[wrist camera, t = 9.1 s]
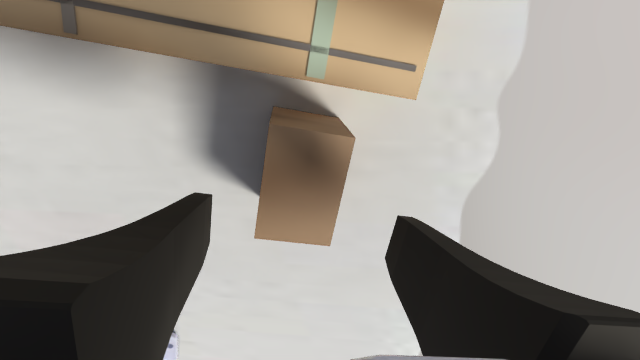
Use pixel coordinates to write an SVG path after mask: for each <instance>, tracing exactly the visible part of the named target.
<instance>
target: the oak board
mask: <svg viewBox="0 0 640 360" xmlns="http://www.w3.org/2000/svg"><path fill="white" fill-rule="evenodd" d="M443 3H444V0H0V26H6V27H11V28H17V29H23V30H28V31H34V32H39V33H45V34H50V35H56V36H62V37H67V38H73V39H78V40H84V41H89V42H95V43H101V44H106V45H112V46H117V47H123V48H128V49H134V50H140V51H145V52H151V53H156V54H162V55H167V56H173V57H179V58H184V59H190V60H195V61H201V62H206V63H212V64H218V65H223V66H229V67H234V68H240V69H245V70H251V71H257V72H262V73H268V74H273V75H279V76H284V77H290V78H296V79H301V80H307V81H312V82H318V83H323V84H329V85H335V86H340V87H346V88H351V89H357V90H363V91H368V92H374V93H379V94H385V95H390V96H396V97H402V98H407V99H413V100H416V98H417V94H418V91H419V87H420V84H421V80H422V77H423V73H424V70H425V66H426V63H427V59H428V56H429V52H430V49H431V45H432V42H433V38H434V34H435V31H436V27H437V24H438V20H439V17H440V13H441V10H442V6H443Z"/></svg>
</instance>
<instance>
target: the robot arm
mask: <svg viewBox="0 0 640 360" xmlns="http://www.w3.org/2000/svg"><path fill="white" fill-rule="evenodd" d="M211 210H212V194H203V193H193V194H190V195H188V196H186V197H184V198H183V199H181V200H179V201H177V202H175V203H173V204H171V205H169V206H167V207H165V208H163V209H161V210H159V211H157V212H155V213H153V214H151V215H148V216H146V217H144V218H142V219H140V220H137V221H135V222H133V223H130V224H128V225H125V226H122V227H120V228H117V229H114V230H111V231H108V232H105V233H102V234H99V235H95V236H91V237H88V238H84V239H80V240H77V241H73V242H69V243H66V244H61V245H57V246H52V247H48V248H43V249H38V250H33V251H27V252H22V253H16V254H10V255H4V256H0V360H178V336H177V334H175V333H172V332H173V329H174V327H175V325H176V322H177V320H178V317H179V315H180V313H181V311H182V309H183V307H184V304H185V302H186V300H187V298H188V296H189V294H190V292H191V290H192V287H193V285H194V283H195V281H196V279H197V277H198V274H199V272H200V270H201V268H202V266H203V263H204V260H205V256H206V253H207V250H208V246H209V243H210V228H211ZM385 260H386V264H387V268H388V271H389V275H390V278H391V281H392V283H393V286H394V288H395V290H396V292H397V295H398V297H399V299H400V301H401V303H402V306H403V308H404V310H405V312H406V314H407V317H408V319H409V321H410V323H411V325H412V327H413V330H414V332H415V335H416V337H417V340H418V342H419V345H420V348H421V351H422V354H423V356H402V355H376V356H369V357H363V358H357V359H351V360H640V313H638V312H635V311H633V310H629V309H625V308H621V307H618V306H614V305H610V304H606V303H603V302H599V301H595V300H592V299H588V298H585V297H581V296H579V295H575V294H572V293H569V292H566V291H563V290H560V289H557V288H554V287H552V286H549V285H546V284H543V283H541V282H538V281H535V280H533V279H530V278H528V277H525V276H522V275H520V274H518V273H516V272H513V271H511V270H509V269H507V268H504V267H502V266H500V265H498V264H496V263H494V262H492V261H490V260H488V259H486V258H484V257H482V256H480V255H478V254H476V253H475V252H473V251H471V250H469V249H467V248H466V247H463V246H462V245H460V244H459V243H457V242H455V241H454V240H452V239H450V238H449V237H447V236H445V235H444V234H442V233H440V232H439V231H437V230H435V229H434V228H432V227H430V226H429V225H427V224H425V223H423V222H421V221H420V220H418V219H415V218H413V217H406V216H397V220H396V223H395V226H394V230H393V233H392V236H391V240H390V243H389V246H388V249H387V253H386V256H385Z"/></svg>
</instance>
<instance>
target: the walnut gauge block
mask: <svg viewBox="0 0 640 360" xmlns="http://www.w3.org/2000/svg"><path fill="white" fill-rule="evenodd" d="M354 142H355V137H354V136H353V134H352V133H351V132H350V131H349V130H348V128H347V127H346V126H345V125H344V124H343V122H342V121H341V120H340V119H339V118H337V117H331V116H325V115H320V114H314V113H308V112H303V111H297V110H291V109H285V108H280V107H274V106H273V111H272V115H271V119H270V123H269V129H268V137H267V145H266V152H265V160H264V168H263V175H262V183H261V191H260V198H259V206H258V214H257V221H256V229H255V236H254V238H256V239H266V240H276V241H285V242H295V243H305V244H314V245H324V246H330V244H331V239H332V235H333V231H334V227H335V222H336V218H337V214H338V210H339V206H340V201H341V197H342V193H343V189H344V184H345V180H346V176H347V172H348V168H349V163H350V159H351V155H352V151H353V146H354Z"/></svg>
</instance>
